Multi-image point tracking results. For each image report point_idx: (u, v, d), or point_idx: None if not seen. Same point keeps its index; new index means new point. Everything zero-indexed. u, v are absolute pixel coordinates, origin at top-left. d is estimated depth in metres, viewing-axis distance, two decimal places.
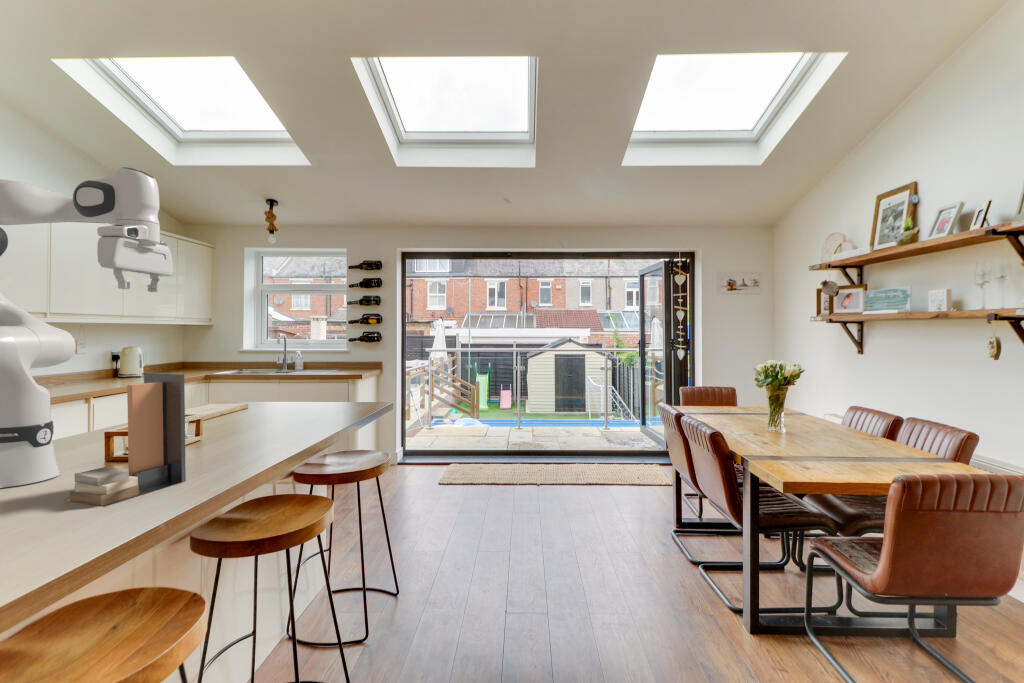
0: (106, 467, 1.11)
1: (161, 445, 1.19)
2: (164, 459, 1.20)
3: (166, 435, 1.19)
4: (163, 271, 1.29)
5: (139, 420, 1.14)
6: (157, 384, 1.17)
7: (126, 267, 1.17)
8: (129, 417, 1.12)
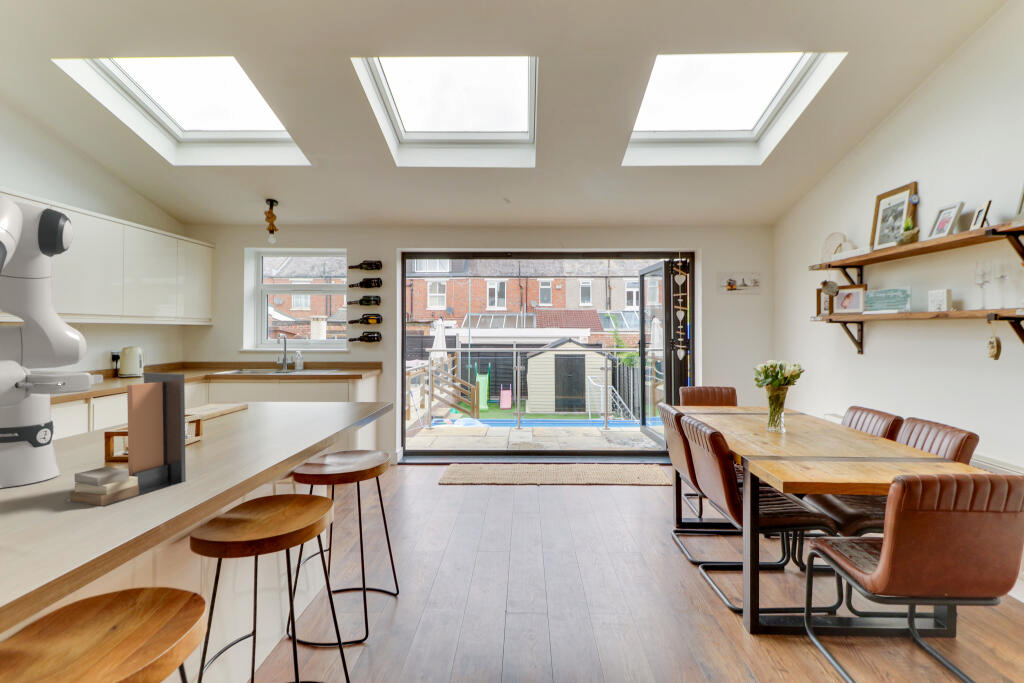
0: (106, 467, 1.11)
1: (161, 445, 1.19)
2: (164, 459, 1.20)
3: (166, 435, 1.19)
4: None
5: (139, 420, 1.14)
6: (157, 384, 1.17)
7: None
8: (129, 417, 1.12)
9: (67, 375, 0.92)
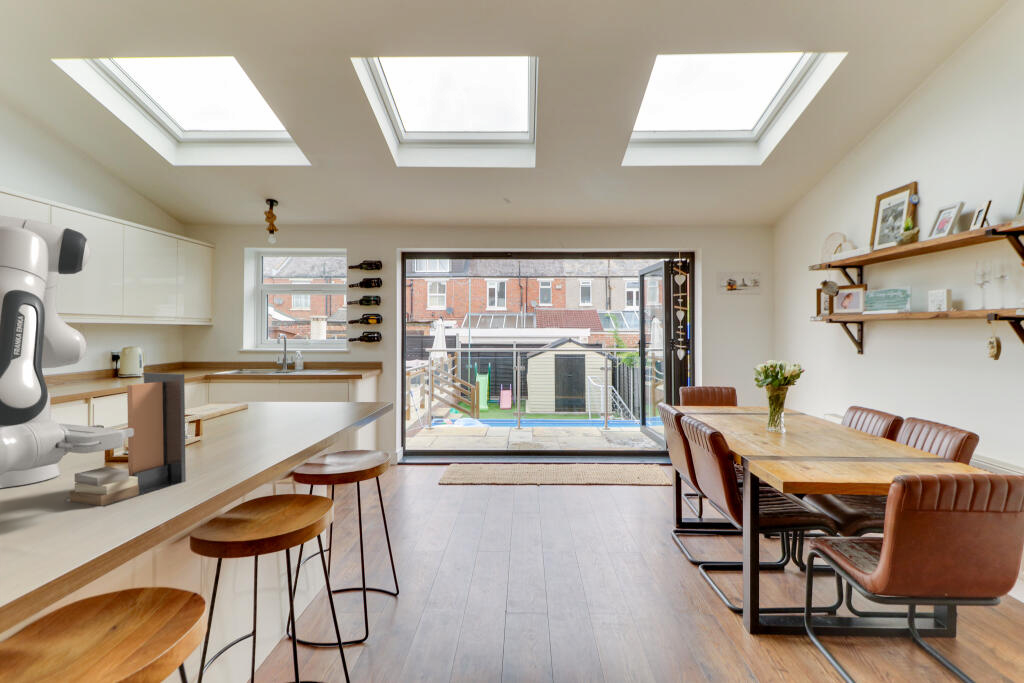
0: (106, 467, 1.11)
1: (161, 445, 1.19)
2: (164, 459, 1.20)
3: (166, 435, 1.19)
4: None
5: (139, 420, 1.14)
6: (157, 384, 1.17)
7: None
8: (129, 417, 1.12)
9: (103, 434, 0.98)
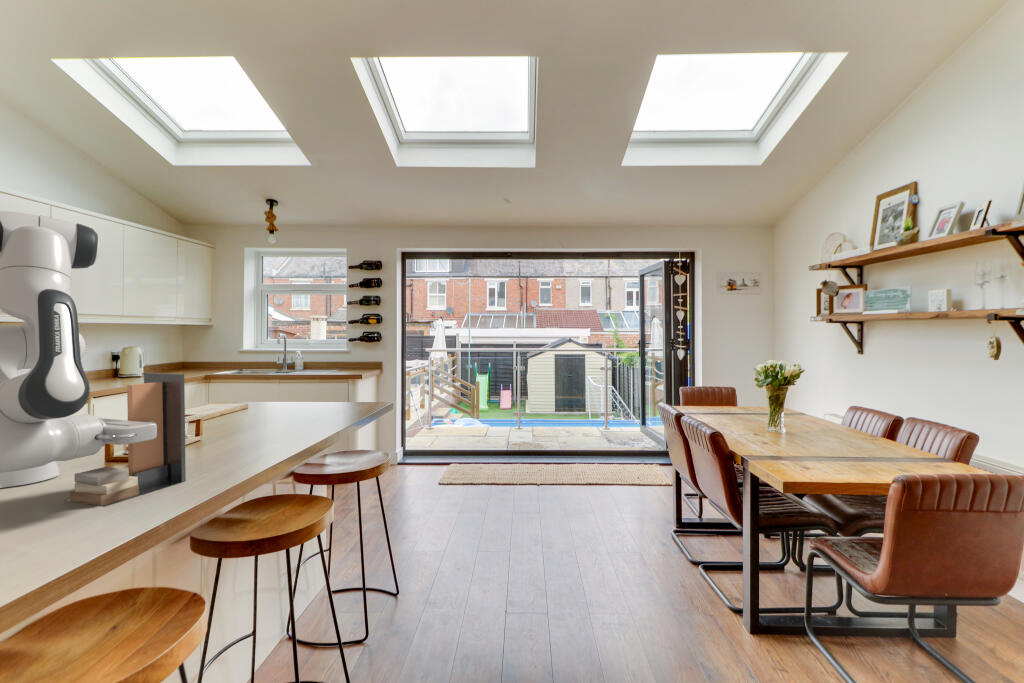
0: (106, 467, 1.11)
1: (161, 445, 1.19)
2: (164, 459, 1.20)
3: (166, 435, 1.19)
4: None
5: (139, 420, 1.14)
6: (156, 384, 1.17)
7: None
8: (129, 417, 1.12)
9: (138, 427, 1.05)
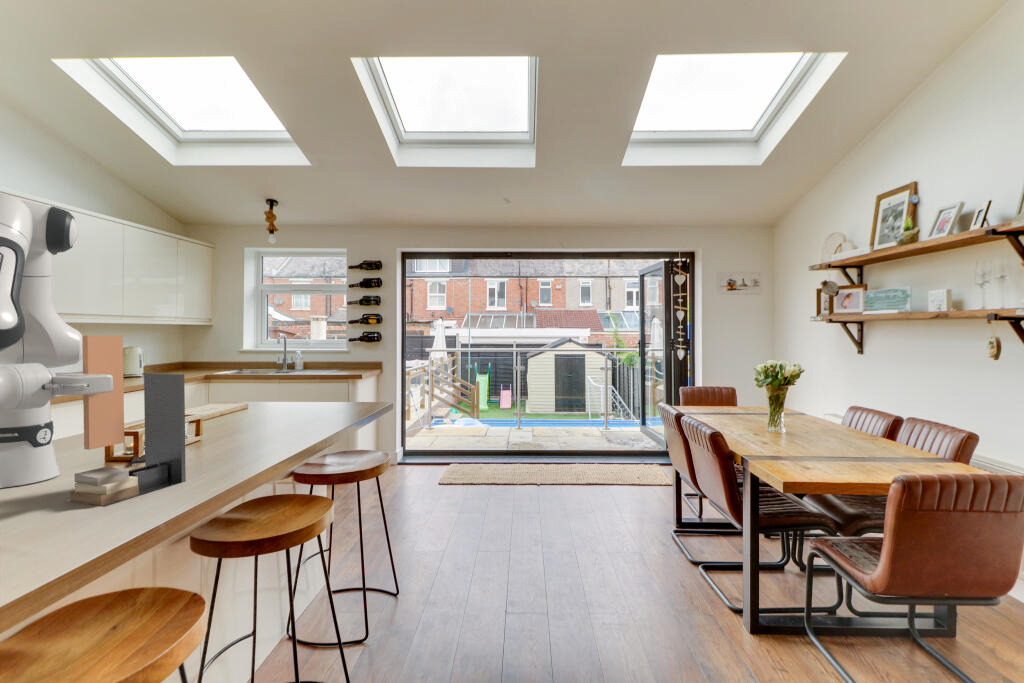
0: (106, 467, 1.11)
1: (121, 403, 1.10)
2: (164, 459, 1.20)
3: (166, 435, 1.19)
4: None
5: None
6: (116, 337, 1.09)
7: None
8: (84, 370, 1.04)
9: (91, 377, 0.96)
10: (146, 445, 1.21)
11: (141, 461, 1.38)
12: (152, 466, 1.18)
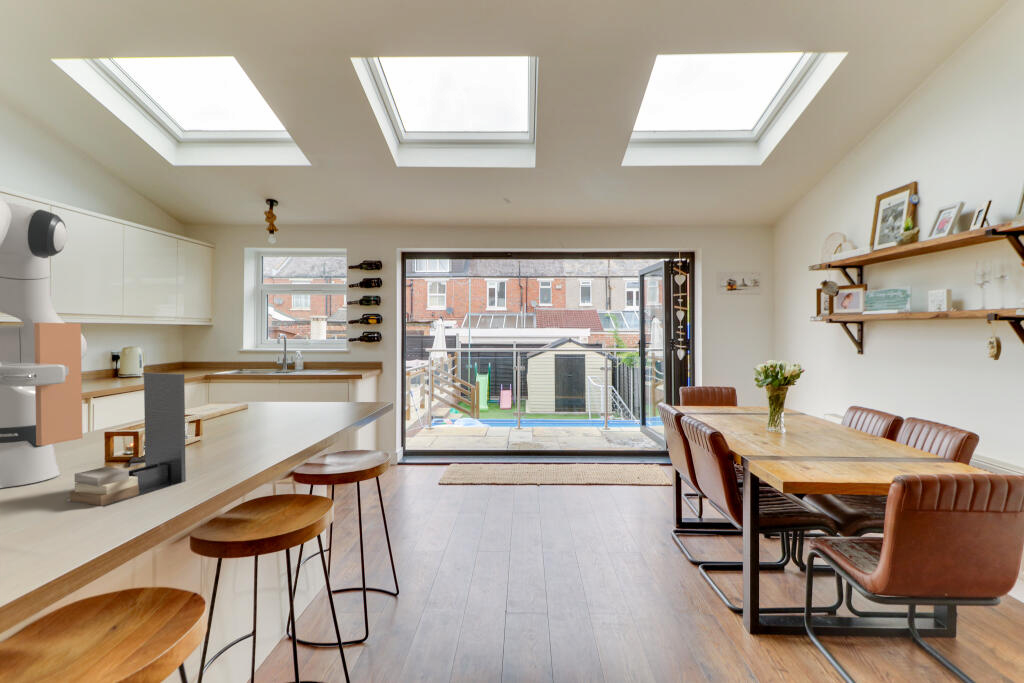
0: (106, 467, 1.11)
1: (79, 396, 1.02)
2: (164, 459, 1.20)
3: (166, 435, 1.19)
4: None
5: None
6: (73, 324, 1.01)
7: None
8: (36, 360, 0.96)
9: (39, 367, 0.88)
10: (146, 445, 1.21)
11: (139, 461, 1.38)
12: (152, 466, 1.18)
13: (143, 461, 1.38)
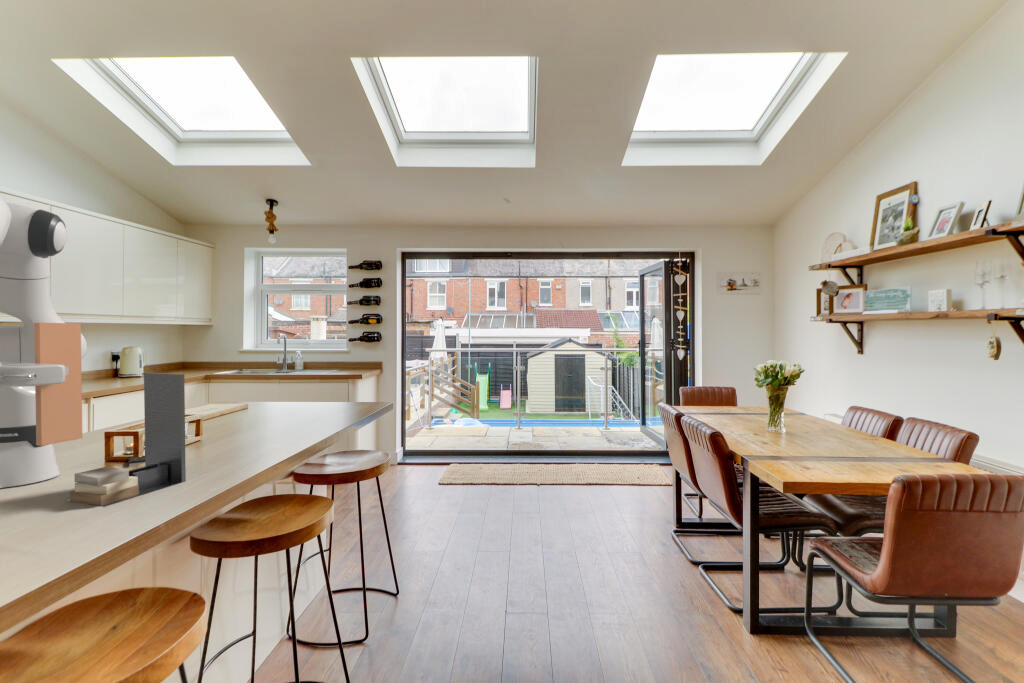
0: (106, 467, 1.11)
1: (79, 396, 1.02)
2: (164, 459, 1.20)
3: (166, 435, 1.19)
4: None
5: None
6: (73, 324, 1.01)
7: None
8: (36, 360, 0.96)
9: (39, 367, 0.88)
10: (146, 445, 1.21)
11: (138, 461, 1.38)
12: (152, 466, 1.18)
13: (142, 461, 1.38)
